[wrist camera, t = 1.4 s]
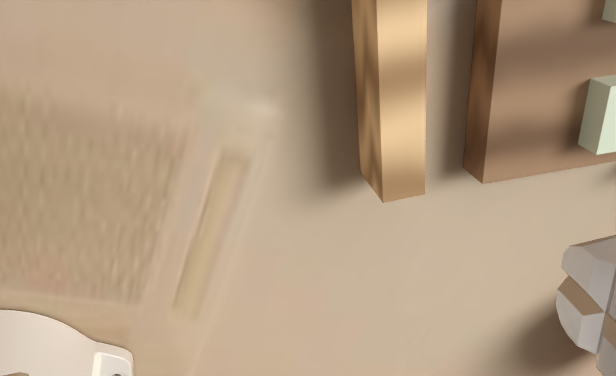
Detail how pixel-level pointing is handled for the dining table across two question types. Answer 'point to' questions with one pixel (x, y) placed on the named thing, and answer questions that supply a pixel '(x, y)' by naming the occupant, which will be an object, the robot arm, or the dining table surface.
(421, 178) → the wooden plank piece
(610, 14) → the tile
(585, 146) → the tile
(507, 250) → the dining table surface
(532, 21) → the board
